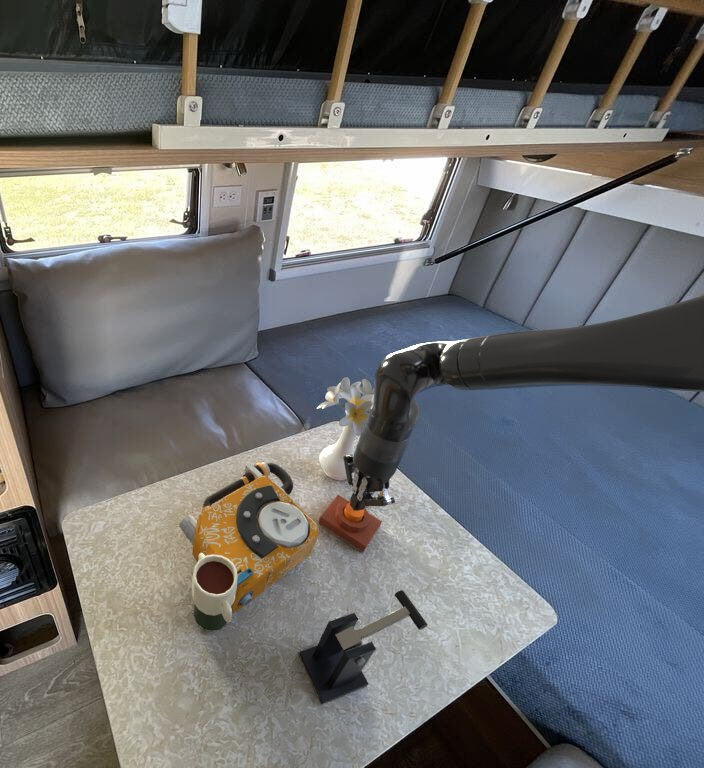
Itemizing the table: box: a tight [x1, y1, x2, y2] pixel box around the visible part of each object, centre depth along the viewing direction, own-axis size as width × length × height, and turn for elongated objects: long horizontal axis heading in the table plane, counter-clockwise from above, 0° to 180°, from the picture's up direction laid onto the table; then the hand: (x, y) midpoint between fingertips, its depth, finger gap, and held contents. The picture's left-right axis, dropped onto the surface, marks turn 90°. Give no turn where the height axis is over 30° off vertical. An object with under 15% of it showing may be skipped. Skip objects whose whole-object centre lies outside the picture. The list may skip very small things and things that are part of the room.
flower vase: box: [316, 376, 374, 482], centre depth 91 cm, size 13×18×25 cm
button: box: [344, 503, 364, 522], centre depth 83 cm, size 4×4×2 cm
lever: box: [335, 589, 429, 652], centre depth 58 cm, size 12×5×2 cm, turn 107°
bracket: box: [298, 612, 377, 705], centre depth 60 cm, size 8×7×13 cm
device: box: [178, 461, 320, 612], centre depth 81 cm, size 23×8×30 cm
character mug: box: [191, 553, 238, 632], centre depth 67 cm, size 11×7×13 cm, turn 24°
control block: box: [318, 494, 383, 553], centre depth 84 cm, size 10×8×4 cm
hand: (355, 506), depth 82 cm, fingers closed
